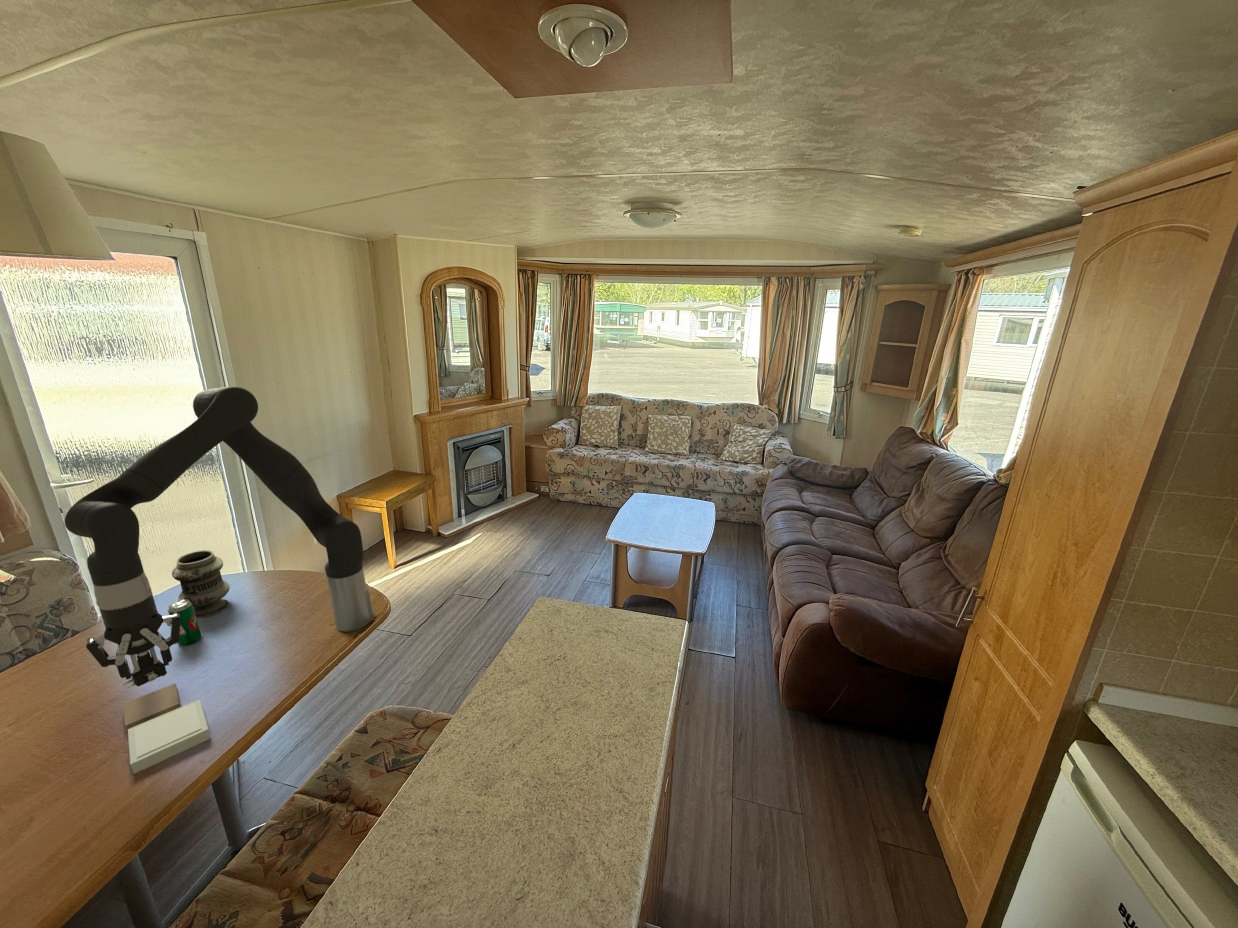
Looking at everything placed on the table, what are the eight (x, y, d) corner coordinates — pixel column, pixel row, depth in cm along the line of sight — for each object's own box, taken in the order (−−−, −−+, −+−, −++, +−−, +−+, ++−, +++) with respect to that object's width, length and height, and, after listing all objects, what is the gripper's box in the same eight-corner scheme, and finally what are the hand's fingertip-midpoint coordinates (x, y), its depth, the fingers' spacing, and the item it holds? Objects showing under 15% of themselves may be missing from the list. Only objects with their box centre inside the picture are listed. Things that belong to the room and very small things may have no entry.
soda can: (174, 644, 135) (162, 606, 131) (195, 633, 139) (184, 596, 136) (185, 648, 133) (173, 610, 129) (206, 638, 137) (195, 600, 134)
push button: (129, 695, 97) (116, 652, 94) (119, 685, 99) (105, 643, 97) (172, 675, 102) (160, 633, 100) (161, 666, 105) (149, 626, 102)
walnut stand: (177, 689, 119) (175, 683, 118) (181, 710, 112) (179, 703, 112) (126, 710, 112) (123, 703, 112) (127, 732, 106) (124, 725, 106)
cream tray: (202, 707, 113) (199, 698, 112) (210, 738, 105) (207, 728, 104) (131, 738, 105) (127, 728, 104) (133, 773, 97) (130, 763, 96)
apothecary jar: (212, 620, 145) (197, 566, 140) (172, 620, 145) (155, 566, 140) (243, 598, 156) (230, 547, 151) (206, 597, 157) (191, 546, 151)
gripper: (172, 577, 103) (191, 646, 108) (73, 603, 94) (98, 677, 98) (175, 591, 98) (195, 663, 103) (70, 620, 89) (97, 697, 93)
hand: (147, 669), depth 101 cm, fingers closed on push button, 5 cm apart
